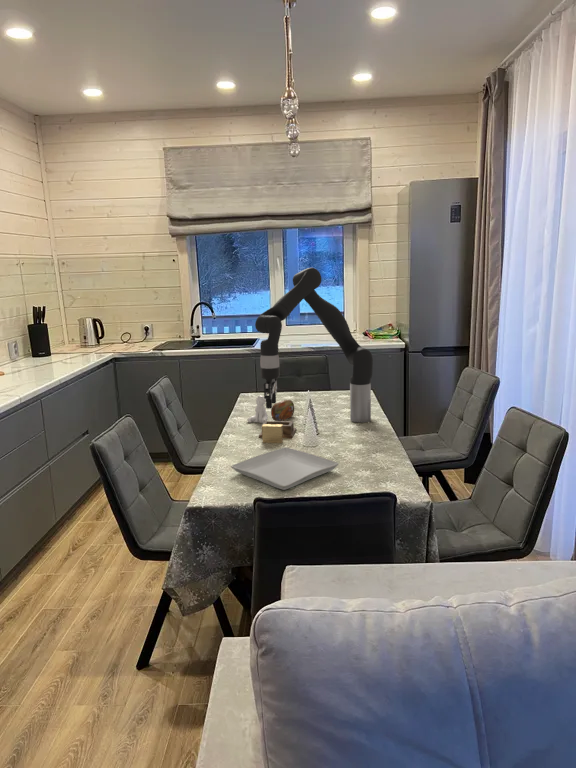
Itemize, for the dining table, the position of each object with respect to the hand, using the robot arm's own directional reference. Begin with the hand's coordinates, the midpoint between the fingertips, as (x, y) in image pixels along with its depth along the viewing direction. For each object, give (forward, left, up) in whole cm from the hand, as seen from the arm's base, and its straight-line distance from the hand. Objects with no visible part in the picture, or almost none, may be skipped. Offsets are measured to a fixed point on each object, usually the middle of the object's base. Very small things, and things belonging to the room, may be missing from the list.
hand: (271, 405), depth 226 cm
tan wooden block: (0, 0, -15) cm, 15 cm away
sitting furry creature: (+12, -30, -15) cm, 36 cm away
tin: (+2, -34, -15) cm, 37 cm away
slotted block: (0, -11, -15) cm, 19 cm away
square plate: (-11, +34, -16) cm, 39 cm away
